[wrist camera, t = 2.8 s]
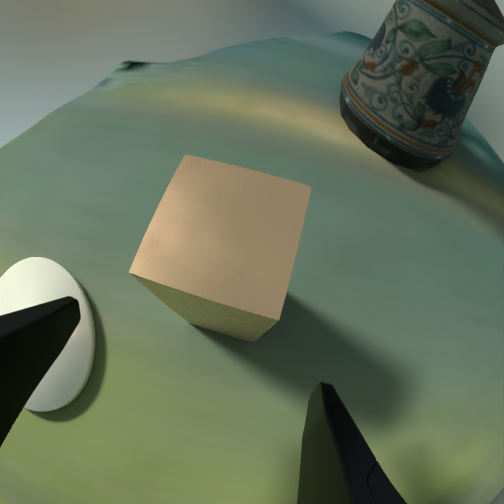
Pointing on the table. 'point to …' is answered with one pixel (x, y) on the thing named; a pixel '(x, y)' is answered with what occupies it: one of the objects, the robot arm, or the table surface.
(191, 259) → the tan tall block
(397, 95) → the beer stein
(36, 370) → the robot arm
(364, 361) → the table surface
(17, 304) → the cream plate
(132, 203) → the table surface
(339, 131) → the table surface
